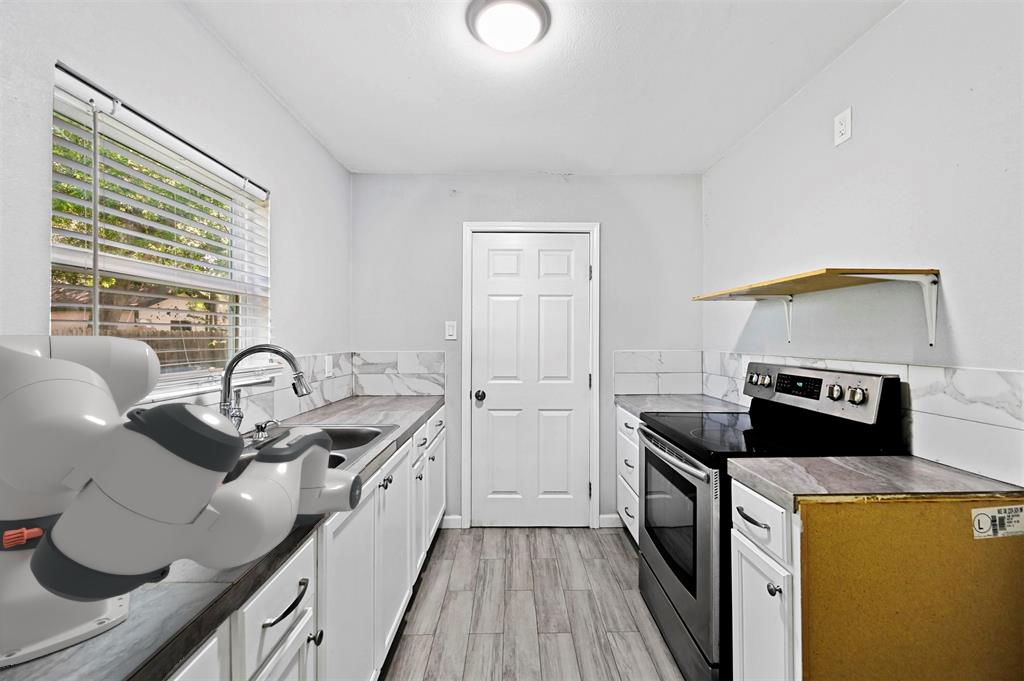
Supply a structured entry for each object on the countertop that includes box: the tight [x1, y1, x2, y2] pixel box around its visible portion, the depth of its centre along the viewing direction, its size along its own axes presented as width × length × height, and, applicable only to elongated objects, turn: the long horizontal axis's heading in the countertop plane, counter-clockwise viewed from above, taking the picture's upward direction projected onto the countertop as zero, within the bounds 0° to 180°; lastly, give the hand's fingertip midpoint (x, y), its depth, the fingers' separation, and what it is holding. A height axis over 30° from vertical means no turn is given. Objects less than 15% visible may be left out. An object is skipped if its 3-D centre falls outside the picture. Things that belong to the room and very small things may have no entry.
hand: (238, 482), depth 101 cm, fingers closed
